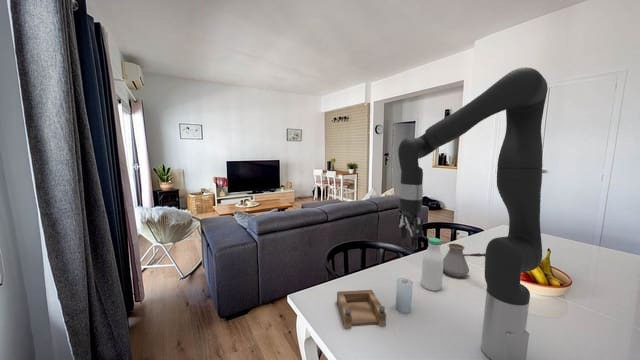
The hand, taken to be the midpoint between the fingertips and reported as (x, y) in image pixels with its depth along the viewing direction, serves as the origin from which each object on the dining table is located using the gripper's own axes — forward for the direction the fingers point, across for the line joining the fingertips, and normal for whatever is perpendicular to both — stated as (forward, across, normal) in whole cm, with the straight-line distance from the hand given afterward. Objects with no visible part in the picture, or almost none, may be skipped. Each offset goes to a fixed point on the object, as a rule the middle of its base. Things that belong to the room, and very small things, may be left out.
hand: (408, 242), depth 90 cm
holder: (+23, -4, +18) cm, 29 cm away
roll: (+23, -2, +2) cm, 23 cm away
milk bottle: (+23, +11, -16) cm, 30 cm away
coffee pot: (+23, +16, -34) cm, 44 cm away
